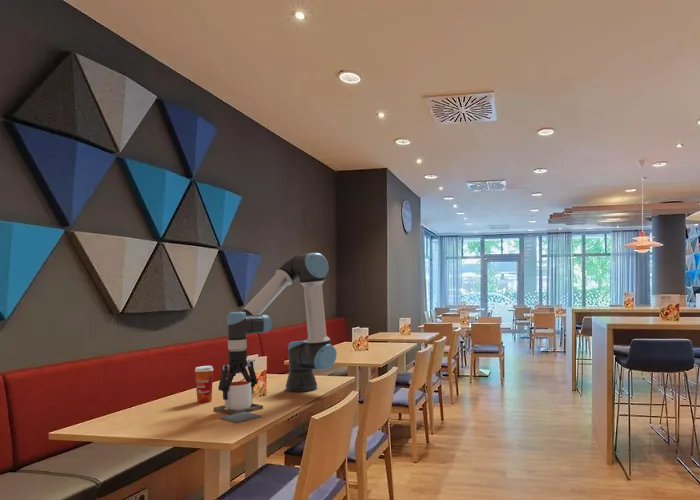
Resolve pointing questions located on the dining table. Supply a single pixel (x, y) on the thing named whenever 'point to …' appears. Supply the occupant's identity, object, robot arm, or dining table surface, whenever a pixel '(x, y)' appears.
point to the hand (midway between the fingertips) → (238, 405)
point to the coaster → (241, 417)
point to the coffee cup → (204, 383)
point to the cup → (240, 395)
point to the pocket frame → (223, 410)
